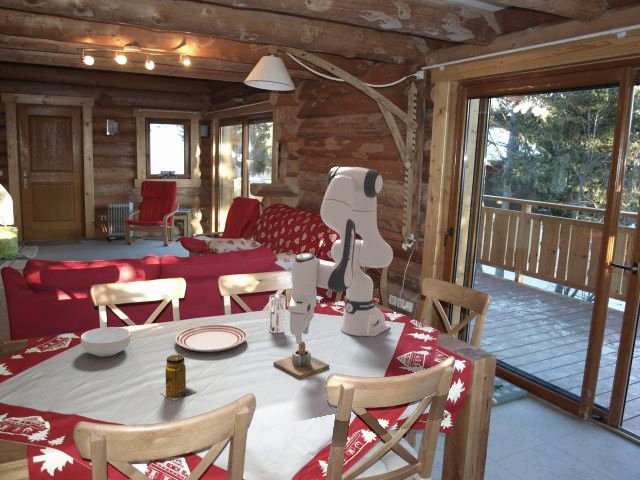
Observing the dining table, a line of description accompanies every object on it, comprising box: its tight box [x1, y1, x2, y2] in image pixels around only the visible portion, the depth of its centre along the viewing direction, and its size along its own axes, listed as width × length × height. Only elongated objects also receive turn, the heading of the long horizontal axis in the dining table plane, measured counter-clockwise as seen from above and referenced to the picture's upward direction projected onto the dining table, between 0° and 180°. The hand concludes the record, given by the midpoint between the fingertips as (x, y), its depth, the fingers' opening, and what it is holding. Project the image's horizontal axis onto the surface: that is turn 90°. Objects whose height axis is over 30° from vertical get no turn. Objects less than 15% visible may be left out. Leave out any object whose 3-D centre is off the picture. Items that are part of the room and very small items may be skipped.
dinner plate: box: [174, 324, 248, 353], centre depth 209 cm, size 28×27×3 cm
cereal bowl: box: [80, 326, 131, 358], centre depth 196 cm, size 17×17×7 cm
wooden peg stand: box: [272, 340, 330, 380], centre depth 190 cm, size 14×14×9 cm
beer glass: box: [268, 293, 286, 334], centre depth 224 cm, size 7×7×15 cm
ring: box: [291, 349, 312, 367], centre depth 191 cm, size 6×6×4 cm
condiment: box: [160, 354, 197, 402], centre depth 168 cm, size 7×8×12 cm
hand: (302, 338), depth 190 cm, fingers open, 8 cm apart
